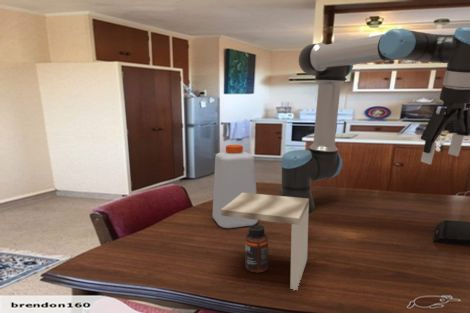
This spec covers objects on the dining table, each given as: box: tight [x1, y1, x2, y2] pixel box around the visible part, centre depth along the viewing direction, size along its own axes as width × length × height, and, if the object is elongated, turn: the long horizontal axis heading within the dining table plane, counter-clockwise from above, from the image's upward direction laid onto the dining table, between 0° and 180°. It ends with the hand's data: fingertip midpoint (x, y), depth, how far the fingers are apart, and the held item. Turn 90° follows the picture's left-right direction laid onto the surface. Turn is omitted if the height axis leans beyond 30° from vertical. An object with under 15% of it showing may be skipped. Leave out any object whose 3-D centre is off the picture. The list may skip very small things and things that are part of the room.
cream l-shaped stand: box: [221, 193, 310, 291], centre depth 84 cm, size 19×16×18 cm
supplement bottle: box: [244, 224, 269, 274], centre depth 85 cm, size 6×6×11 cm
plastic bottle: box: [212, 144, 259, 229], centre depth 118 cm, size 15×15×28 cm
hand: (439, 158), depth 98 cm, fingers open, 13 cm apart
